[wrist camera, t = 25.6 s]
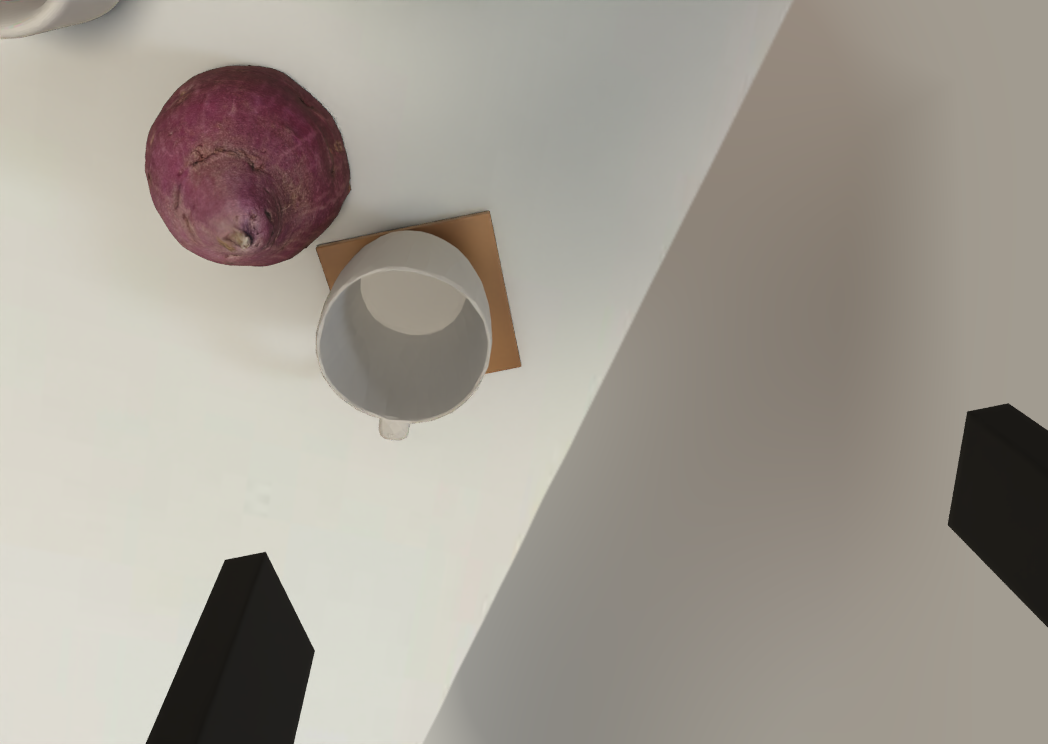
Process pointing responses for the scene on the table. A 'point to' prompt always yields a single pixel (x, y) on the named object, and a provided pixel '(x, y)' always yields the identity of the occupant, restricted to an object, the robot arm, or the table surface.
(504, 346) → the mat
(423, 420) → the mug
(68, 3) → the cup
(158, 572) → the table surface
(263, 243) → the vegetable
